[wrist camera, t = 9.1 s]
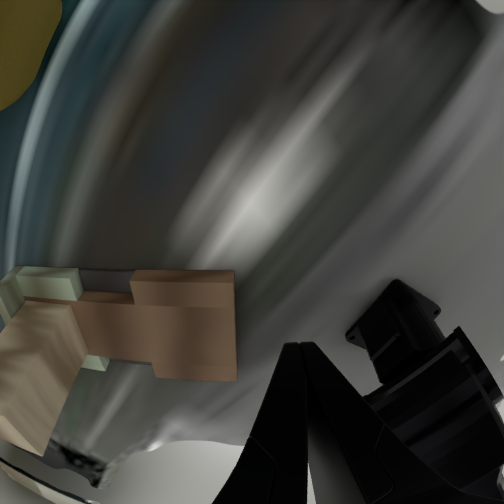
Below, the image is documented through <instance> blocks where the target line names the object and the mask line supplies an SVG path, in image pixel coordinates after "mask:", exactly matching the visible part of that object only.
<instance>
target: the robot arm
mask: <svg viewBox="0 0 504 504" xmlns="http://www.w3.org/2000/svg"><path fill="white" fill-rule="evenodd" d="M397 285H398V287H396V286H397ZM395 287H396V288H395ZM440 312H441V309H440V307H439V306H438V305H437V304H435V303H434V302H432V301H431V300H429V299H428V298H426V297H425V296H423V295H422V294H420V293H419V292H417V291H416V290H414V289H413V288H411V287H410V286H408V285H407V284H405V283H404V282H402V281H401V280H398V279H397V280H394V281H393V282H391V284H390V285H389V286H388V287H387V288H386V290H385V291H384V292H383V293H382V294H381V295H380V296H379V298H378V299H377V300H376V301H375V302H374V303H373V304H372V306H371V307H370V308H369V309H368V310H367V311H366V312H365V313H364V314H363V316H362V317H361V318H360V319H359V320H358V321H357V322H356V323H355V324H354V325H353V326H352V327H351V328H350V330H349V331H348V332H347V333H346V334H345V337H346V340H347V341H348V342H350V343H352V344H355V345H357V346H359V347H362V348H364V349H366V350H367V352H368V355H369V357H370V360H371V361H372V363H373V365H374V368H375V371H376V373H377V376H378V379H379V382H380V383H382V386H381V387H379V388H378V389H376V390H375V391H373V392H372V393H370V394H368V395H365V396H363V397H362V396H361V395H360V394H359V393H358V392H357V390H356V389H355V388H354V387H353V386H352V385H351V384H350V382H349V381H348V380H347V379H346V378H345V377H344V376H343V374H342V373H341V372H340V371H339V370H338V369H337V368H336V366H335V365H334V364H333V363H332V362H331V361H330V360H329V358H328V357H327V356H326V355H325V354H324V353H323V352H322V350H321V349H320V348H319V347H318V346H317V345H316V343H314V342H301V343H297V342H289V343H284V345H283V347H282V350H281V353H280V356H279V359H278V362H277V364H276V367H275V370H274V373H273V375H272V378H271V381H270V383H269V386H268V389H267V391H266V394H265V397H264V399H263V402H262V404H261V407H260V410H259V412H258V415H257V417H256V420H255V422H254V425H253V427H252V430H251V432H250V435H249V438H248V439H247V442H246V444H245V447H244V449H243V451H242V453H241V456H240V458H239V460H238V462H237V464H236V466H235V468H234V469H233V471H232V473H231V475H230V476H229V478H228V480H227V481H226V483H225V485H224V486H223V488H222V489H221V491H220V492H219V494H218V495H217V497H216V498H215V500H214V501H213V503H212V504H307V482H308V480H307V479H308V463H309V468H310V474H311V479H312V484H313V489H314V495H315V500H316V504H504V477H503V474H502V469H503V465H504V423H503V420H502V418H501V415H500V413H499V412H498V410H497V408H496V406H495V404H497V403H499V402H500V401H501V400H502V399H504V396H503V394H502V392H501V390H500V389H499V387H498V385H497V383H496V382H495V380H494V378H493V376H492V375H491V373H490V371H489V370H488V368H487V366H486V365H485V363H484V362H483V360H482V359H481V357H480V355H479V354H478V352H477V351H476V349H475V348H474V347H473V345H472V344H471V342H470V341H469V339H468V338H467V336H466V335H465V333H464V332H463V331H462V329H461V328H460V326H458V327H457V328H456V329H455V330H453V331H454V332H453V333H452V334H450V335H449V336H448V337H447V338H445V336H444V335H443V333H442V332H441V330H440V329H439V327H438V326H437V324H436V322H435V321H434V319H435V318H436V317H437V316H438V315H439V314H440ZM350 336H352V337H350Z"/></svg>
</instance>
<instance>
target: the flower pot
mask: <svg viewBox="0 0 504 504" xmlns="http://www.w3.org/2000/svg"><path fill="white" fill-rule="evenodd" d="M61 16H62V1H61V0H0V111H1V110H3V109H5V108H7V107H8V106H10V105H11V104H12V103H14V102H15V101H16V100H17V99H19V98H20V97H21V96H22V94H23V93H24V92H25V91H26V90H27V89H28V87H29V86H30V85H31V84H32V82H33V81H34V79H35V78H36V76H37V73H38V70H39V67H40V65H41V62H42V60H43V57H44V55H45V52H46V50H47V47H48V45H49V43H50V41H51V38H52V36H53V34H54V32H55V30H56V28H57V26H58V24H59V22H60V20H61Z"/></svg>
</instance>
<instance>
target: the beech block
mask: <svg viewBox="0 0 504 504" xmlns="http://www.w3.org/2000/svg"><path fill="white" fill-rule="evenodd" d="M88 352H89V350H88V348H87V346H86V343H85V341H84V339H83V336H82V334H81V331H80V329H79V326H78V324H77V321H76V319H75V316H74V313H73V311H72V308H71V305H63V304H53V303H44V302H35V301H27V300H26V301H25V303H24V304H23V305H22V306H21V308H20V309H19V310H18V311H17V313H16V314H15V315H14V316H13V318H12V319H11V320H10V321H9V323H8V324H7V325H6V327H5V328H4V329H3V331H2V332H1V333H0V438H1V439H4V440H6V441H8V442H10V443H12V444H14V445H16V446H19V447H21V448H23V449H25V450H28V451H30V452H33V453H35V454H38V455H40V456H43V454H44V452H45V449H46V446H47V444H48V441H49V439H50V436H51V434H52V431H53V429H54V426H55V424H56V421H57V419H58V417H59V414H60V412H61V410H62V407H63V405H64V403H65V400H66V398H67V396H68V394H69V392H70V389H71V387H72V385H73V383H74V381H75V379H76V376H77V374H78V372H79V370H80V368H81V366H82V364H83V362H84V360H85V358H86V356H87V354H88Z"/></svg>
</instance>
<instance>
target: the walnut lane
mask: <svg viewBox="0 0 504 504" xmlns="http://www.w3.org/2000/svg"><path fill="white" fill-rule="evenodd" d="M26 300H27V301H35V302H44V303H53V304H63V305H71V308H72V311H73V313H74V316H75V319H76V321H77V324H78V326H79V329H80V331H81V334H82V336H83V339H84V341H85V343H86V346H87V348H88V350H89V352H88V354H87V356H86V358H85V360H84V362H83V364H82V366H81V367H82V368H87V369H94V370H100V371H106V368H107V366H108V364H109V361H116V362H125V363H134V364H144V365H152V366H153V369H154V372H155V375H156V377H158V378H169V379H183V380H200V381H229V382H237V370H238V367H237V342H236V313H235V280H234V271H211V270H136V271H126V270H86V269H78V268H57V267H28V266H15V267H14V268H13V269H12V270H11V271H10V272H9V273H8V274H7V275H6V276H5V277H4V278H3V279H2V280H1V281H0V314H1V316H2V318H3V320H4V322H5V325H7V324H8V323H9V321H10V320H11V319H12V318H13V316H14V315H15V314H16V313H17V311H18V310H19V309H20V308H21V306H22V305H23V304H24V303H25V301H26Z"/></svg>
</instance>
